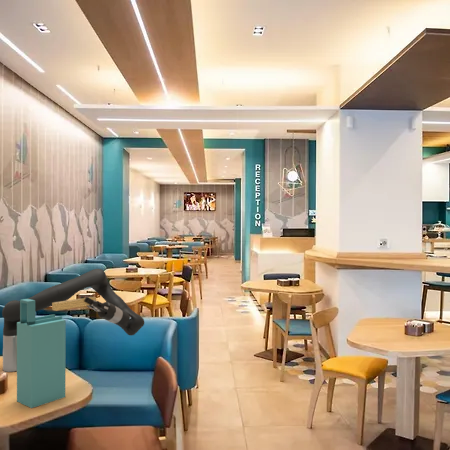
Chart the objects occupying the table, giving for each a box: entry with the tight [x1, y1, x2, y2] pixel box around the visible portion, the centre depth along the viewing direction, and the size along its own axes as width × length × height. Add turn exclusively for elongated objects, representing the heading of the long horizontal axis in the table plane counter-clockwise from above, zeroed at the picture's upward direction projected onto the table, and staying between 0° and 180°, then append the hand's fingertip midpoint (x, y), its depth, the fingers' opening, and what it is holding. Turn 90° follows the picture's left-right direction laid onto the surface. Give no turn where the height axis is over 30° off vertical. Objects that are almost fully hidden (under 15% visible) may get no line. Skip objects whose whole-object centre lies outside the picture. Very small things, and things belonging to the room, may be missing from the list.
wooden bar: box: [51, 296, 97, 312], centre depth 206 cm, size 3×20×3 cm, turn 142°
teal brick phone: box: [16, 298, 67, 409], centre depth 193 cm, size 11×15×41 cm
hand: (83, 298), depth 209 cm, fingers closed on wooden bar, 3 cm apart
